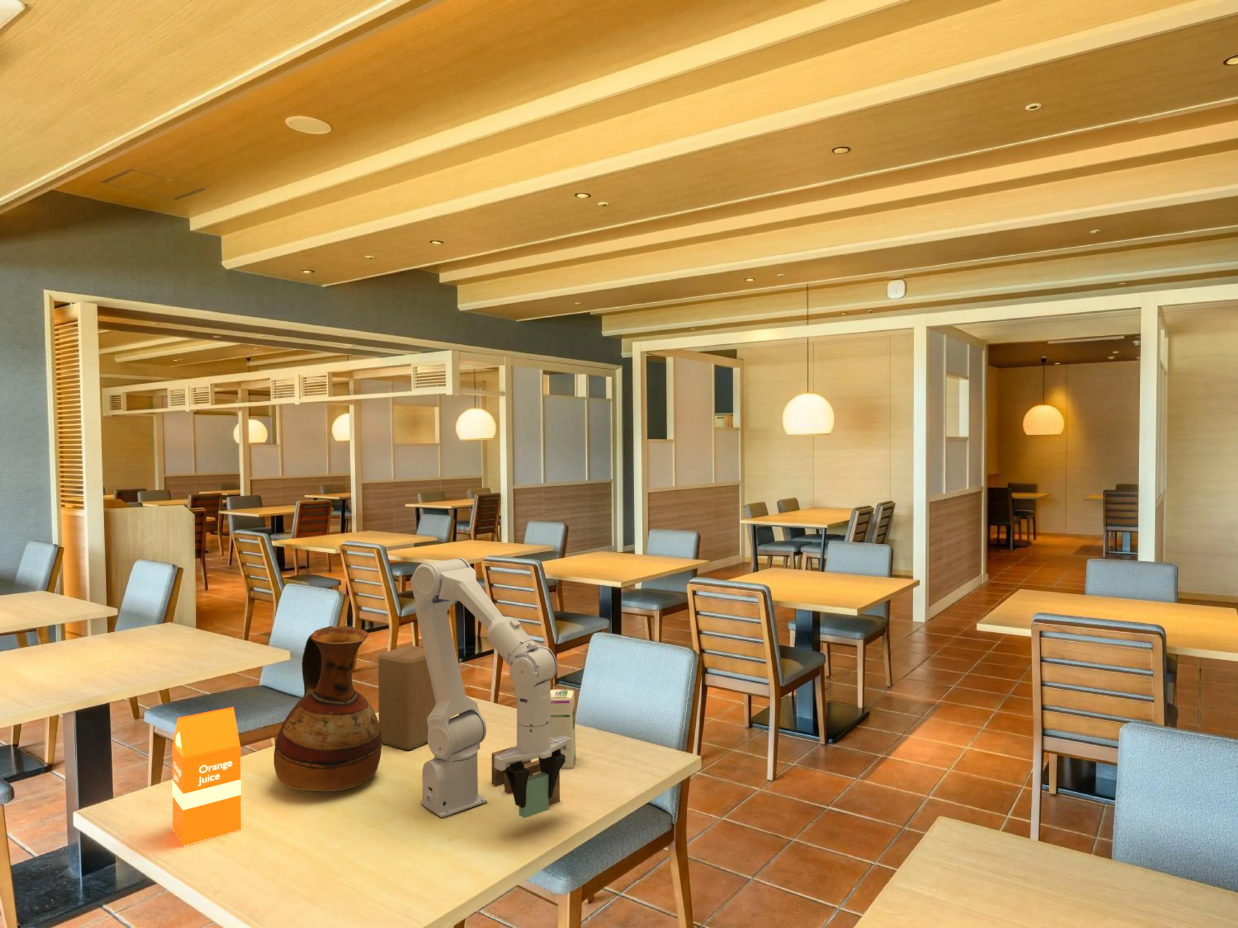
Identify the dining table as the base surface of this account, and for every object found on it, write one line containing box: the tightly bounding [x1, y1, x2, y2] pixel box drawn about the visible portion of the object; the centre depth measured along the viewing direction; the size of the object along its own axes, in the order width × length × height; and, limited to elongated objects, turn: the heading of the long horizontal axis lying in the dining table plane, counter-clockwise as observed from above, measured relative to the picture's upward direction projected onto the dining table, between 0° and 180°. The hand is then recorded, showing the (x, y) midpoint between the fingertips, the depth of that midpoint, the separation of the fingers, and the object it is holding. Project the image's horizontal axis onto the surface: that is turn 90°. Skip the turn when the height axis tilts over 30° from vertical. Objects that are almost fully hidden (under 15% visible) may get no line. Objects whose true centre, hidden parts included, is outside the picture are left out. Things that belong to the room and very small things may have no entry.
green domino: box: [518, 772, 550, 819], centre depth 132 cm, size 5×2×6 cm, turn 132°
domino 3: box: [524, 759, 541, 776], centre depth 144 cm, size 5×2×6 cm, turn 132°
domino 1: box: [491, 746, 514, 787], centre depth 151 cm, size 5×2×6 cm, turn 131°
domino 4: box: [532, 771, 561, 807], centre depth 141 cm, size 5×2×6 cm, turn 132°
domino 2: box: [504, 760, 532, 795], centre depth 147 cm, size 5×2×6 cm, turn 131°
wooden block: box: [377, 645, 436, 751], centre depth 173 cm, size 10×10×20 cm
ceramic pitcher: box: [273, 625, 383, 792], centre depth 151 cm, size 20×20×30 cm
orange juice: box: [171, 706, 242, 847], centre depth 131 cm, size 8×9×20 cm
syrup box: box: [550, 688, 577, 770], centre depth 160 cm, size 6×6×14 cm
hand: (533, 800), depth 132 cm, fingers closed on green domino, 5 cm apart
